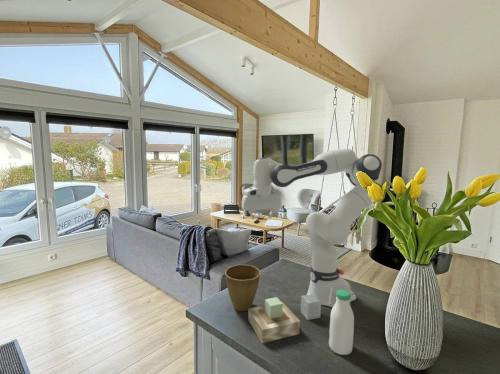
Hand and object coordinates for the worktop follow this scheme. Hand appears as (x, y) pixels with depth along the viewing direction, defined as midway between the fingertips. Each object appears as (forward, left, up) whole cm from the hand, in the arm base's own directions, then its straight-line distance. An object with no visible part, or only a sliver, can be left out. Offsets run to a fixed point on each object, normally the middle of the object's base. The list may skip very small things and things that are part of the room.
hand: (261, 218), depth 135 cm
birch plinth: (+9, +34, -34) cm, 49 cm away
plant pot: (+16, +17, -34) cm, 41 cm away
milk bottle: (-8, +52, -34) cm, 63 cm away
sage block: (+9, +34, -29) cm, 45 cm away
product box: (-9, +32, -34) cm, 48 cm away
